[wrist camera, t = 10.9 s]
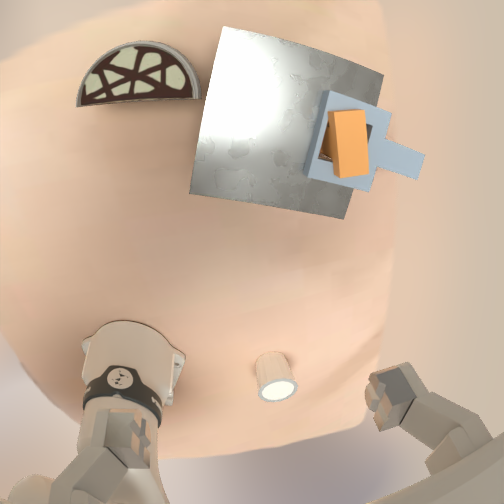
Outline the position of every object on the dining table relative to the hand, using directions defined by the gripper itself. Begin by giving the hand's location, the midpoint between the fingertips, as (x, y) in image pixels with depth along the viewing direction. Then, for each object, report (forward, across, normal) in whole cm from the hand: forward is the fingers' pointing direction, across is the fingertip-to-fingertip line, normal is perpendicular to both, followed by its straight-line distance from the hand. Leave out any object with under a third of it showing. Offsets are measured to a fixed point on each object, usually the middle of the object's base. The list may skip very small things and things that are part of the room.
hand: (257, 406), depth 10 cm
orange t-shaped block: (+28, -12, -5) cm, 30 cm away
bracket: (+24, -15, -4) cm, 28 cm away
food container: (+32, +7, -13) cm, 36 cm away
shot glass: (+32, -5, +35) cm, 48 cm away
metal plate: (+32, -7, -6) cm, 33 cm away
